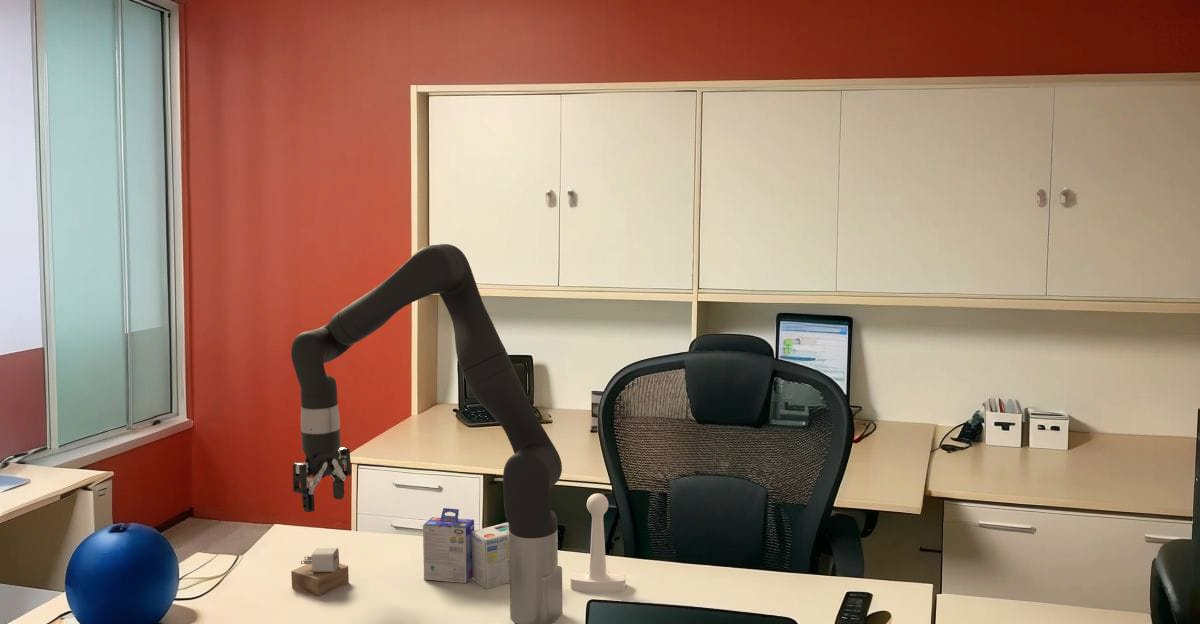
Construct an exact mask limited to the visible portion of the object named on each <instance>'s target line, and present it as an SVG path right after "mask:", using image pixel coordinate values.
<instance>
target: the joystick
mask: <svg viewBox="0 0 1200 624" xmlns="http://www.w3.org/2000/svg"><path fill="white" fill-rule="evenodd" d="M586 508H587V510H588V512H589V513H590V515H591V530H590V531H591V534H590V550H589V551H590V552H589V553H590V554H589V570H588V571H589V572H588V573H584V572H583V573H582V572H578V571H577V572H576V571H573V572H571V574H570V590H572V591H578V592H586V593H596V594H597V593H598V592H605V593H620V592H624V591H625V590H626V574H625V573H615V574H612V573H610V572H609V569H608V568H607V564H606V563H607V560H606V559H607V558H606V546H605V545H606V544H605V543H606V542H605V528H604V527H605V526H604V515H605V513H607V511H608V509H609V501H608V498H607V497H606V496H605V495H604V494H603V493H600V492H599V493H593V494H591V495H590V496H589V497H588V498H587V501H586ZM619 591H620V592H619Z"/></svg>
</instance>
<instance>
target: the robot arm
mask: <svg viewBox="0 0 1200 624" xmlns="http://www.w3.org/2000/svg"><path fill="white" fill-rule="evenodd" d="M469 262H470V261H468V258H467V257H466V255H465V253H464V252H463V251H462V250H461V249H460V248H458V247H456V246H455V245H453V244H450V243H449V244H448V243H441V244H431V245H425V246H424V247H422V248H420V249H419V250H417V251H416V252H415V253H414V254H413V255H411V256H410V257H409V258H408V259H407V260H406V261H405V262H403V264H402V265H400V267H399V268H398V269H397V270H396V271H394V272H393V273H392V274H391V275H390V276H389V277H388V278H387V279H385V280H384V281H382V282H381V283H380V284H378V285H377V286H376V287H374V288H373V289H371V290H370V291H368V292H367V293H365V294H364V295H362V296H361V297H359V298H357V299H356V300H354V301H353V302H351V303H350V304H348V305H346V306H345V307H344V308H342V309H340V310H339V311H337V312H336V313H335V314H334V315H333V316H332V317H331V318H330V320H329V322H328V323H326V324H324V325H323V326H321V327H319V328H315V329H311V330H307V331H303V332H301V333H299V334H298V335H296V336H295V337H294V339H293V341H292V343H291V348H290V349H291V352H290V357H291V362H292V365H293V368H294V371H295V372H294V373H295V374H296V378H297V381H298V384H299V386H300V402H301V403H300V406H301V407H300V408H301V411H300V430H301V431H300V432H301V433H300V435H301V450H302V452H303V453H304V455H305V459H304V462H294V463H293V465H292V491H293V493H296V494H301V500H302V502H301V503H302V509H303V510H304V512H307V513H313V512H315V494H314V491H315V489H316V487H317V485H319V483H320V482H321V480H322V479H324V478H326V477H327V476H330V477H331V478H332V480H333V481H332V495H333V499H335V500H343V499H344V498H345V481H346V478H347V477H348V476H351V475H352V464H351V463H352V462H351V453H350V452H351V450H350V448H349V447H348V448H347V447H344V446H343V447H342V442H341V439H342V438H341V422H340V421H341V419H340V411H339V405H338V404H339V403H338V386H337V384H338V383H337V380H336V379H335V377H333V376H331V375H327V371H326V369H325V364H326V363H329V362H332V361H333V360H336V359H338V358H339V357H340V356H342V355H343V354H344V353H346V352H347V351H348V350H349V349H350V348H351V347H352V346H354V344H356V343H358V342H360V341H362V340H363V339H365V338H366V337H368V336H370V335H371V334H373V333H374V332H376V331H377V330H379V329H380V328H381V327H382V326H384V325H385V324H386V323H387V322H388V321H389V320H390V319H392V317H393V316H394V315H396V314H397V313H398V312H399V311H401V310H402V309H403V308H405V307H406V306H408V305H410V304H412V303H414V302H416V301H418V300H421V299H424V298H425V297H429V296H431V295H439V296H440V298H441V300H442V301H443V303H444V306H445V307H446V310H447V311H448V314H449V316H450V319H451V322H452V326H453V333H454V342H455V350H456V351H455V352H456V357H457V358H456V359H457V362H458V365H459V367H460V370H461V372H462V375H463V377H464V379H465V381H466V383H467V386H468V387H469V390H470V391H471V393H472V396H473V397H474V398H475V399H476V400H477V401H478V402H479V404H480V405H481V406H482V407H483V409H485V410H486V411H487V412H488V413H489V415H491V416H492V417H493V418H494V419H495V421H497V423H499V425H500V427H501V428H502V429H503V432H504V433H505V434H506V437H507V440H508V441H509V443H510V446H511V448H512V451H513V453H514V454H513V455H511V456H510V457H509V458H508V459H507V461H506V462H505V464H504V467H503V468H504V469H503V475H502V487H503V489H502V490H503V491H502V492H503V504H504V505H503V506H504V516H505V518H506V522H508V523H509V571H510V582H509V611H510V612H509V613H510V614H509V615H510V617H509V618H510V619H511V620H512V621H513V622H514V623H515V624H552V623H553V622H554V621H556V620H557V619H558V618H559V617H560V616H561V615H562V614H563V567H562V566H560V565H559V563H558V561H559V558H558V554H559V553H558V547H559V545H558V542H559V541H558V516H557V514H556V513H555V512H554V511H553V510H551V509H552V508H551V488H552V487H554V486H555V484H557V483H558V482H559V480H560V478H561V476H562V472H563V464H562V460H561V456H560V454H559V453H558V450H557V448H556V447H555V445H554V443H553V442H552V440H551V439H550V437H549V435H548V434H547V431H546V430H545V429H544V427H543V425H542V423H541V422H540V420H539V418H538V417H537V415H536V413H535V410H534V409H533V407H532V404H531V402H530V399H529V397H528V395H527V393H526V391H525V388H524V386H523V384H522V382H521V381H520V379H519V376H518V373H517V371H516V369H515V367H514V365H513V362H512V360H511V358H510V356H509V354H508V351H507V350H506V348H505V346H504V344H503V342H502V340H501V338H500V336H499V334H498V332H497V329H496V328H495V325H494V323H493V321H492V318H491V317H490V315H489V312H488V310H487V308H486V306H485V304H484V301H483V299H482V296H481V294H480V291H479V288H478V286H477V282H476V280H475V277H474V274H473V271H472V268H471V266H470V263H469ZM311 476H312V477H311Z"/></svg>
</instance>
